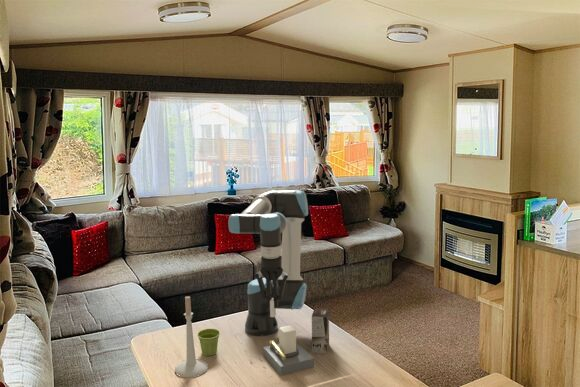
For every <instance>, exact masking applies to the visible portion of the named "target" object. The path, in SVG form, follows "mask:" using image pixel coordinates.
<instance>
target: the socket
mask: <svg viewBox="0 0 580 387" xmlns="http://www.w3.org/2000/svg"><path fill="white" fill-rule="evenodd" d="M275 344H276V345H277V346H278V347H279V343H275ZM296 347H297V348H298V354H297V355H296V356H294V357H290V358H286V359H284V360H283V359H282V357H281V356H279V355H278V354H277V351H276V350H275V349H274V347H273V346H271V345H265V346H262V351H263V352H262V354H263V356H264V358H265V359H266V360H267V361H268V362H269V363H270V364H271V366H272V367H273V368H274V369H275V370H276V372H278V374H279V375H280V376H284V375H288V374H293V373H296V372H299V371H304V370H307V369H312V368H315V357H314V356H312V355H311V354H310V353H309V352H308V351H307V350H306V349H305V348H304V347H302V346H301V345H300V344H299V343H298V342H297V341H296Z"/></svg>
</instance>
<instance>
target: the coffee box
mask: <svg viewBox="0 0 580 387" xmlns="http://www.w3.org/2000/svg"><path fill="white" fill-rule="evenodd" d="M329 312H330V309H329V308H314V309H313V312H312V314H311V352H312V353H318V354H327V353H328V350H329V346H330V313H329Z"/></svg>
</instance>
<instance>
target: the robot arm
mask: <svg viewBox="0 0 580 387" xmlns="http://www.w3.org/2000/svg"><path fill="white" fill-rule="evenodd" d="M308 203H309V202H308V198H307V194H306V192H305V191H303V190H296V189H294V190H277V189H275V190H269V191H266V192H263V193H260V194H258V195H257V196H255V198H253V199H252V201H251V204H250V205H248V207H247V208H245V209H244V210H243V211H242V212H241V213H235V214H234V213H233V214H230V216H229V217H228V231H229V232H230V233H231V234H239V235H240V234H253V235H254V234H256V235H257V234H259V237H260V255H261V258H260V261H261V262H260V263H261V267H260V271H259V270H258V271H256V272H255V274H254V277H255V279H253V280H251V281H249V283H247V292H246V293H247V310H248V312H247V317H246V321H245V324H244V330H245V332H246V333H247V334H249V335H254V336H266V335H272V334H274V333H276V332H277V331H278V330H279V324H278V321H277V318H276V314H277V311H276V310H277V309H278V310H279V309H281V310H302V308H303V307H304V305H305V301H306V297H307V296H306V295H307V288H308V287H307V283H305V282H304V278H303V277H302V276H301V250H302V249H301V248H302V247H301V244H302V223H303V222H304V221H305V217H307V216H309V204H308ZM281 234H282V236H281ZM281 239H282V240H281Z"/></svg>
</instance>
